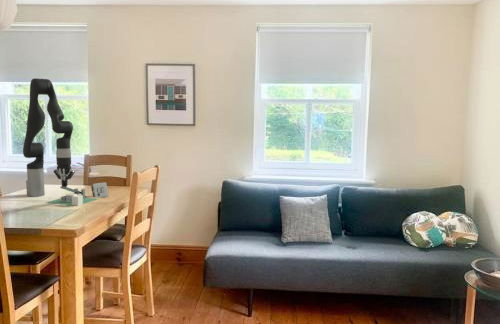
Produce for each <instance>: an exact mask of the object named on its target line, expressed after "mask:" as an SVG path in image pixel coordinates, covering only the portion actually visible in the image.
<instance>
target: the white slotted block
mask: <svg viewBox="0 0 500 324" xmlns="http://www.w3.org/2000/svg"><path fill="white" fill-rule="evenodd" d="M60 198H61V200H60V202H66V203H72V196H66V195H63V196H60ZM83 200H84V198H83Z"/></svg>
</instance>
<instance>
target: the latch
mask: <svg viewBox="0 0 500 324" xmlns="http://www.w3.org/2000/svg"><path fill="white" fill-rule="evenodd" d="M65 196H72V205H71V206H75V205H76V206H77V207H78V206H82V205H84V204H83V195H81V194H78V195H77V194H74V193H68V194H67V193H66V194H65Z"/></svg>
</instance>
